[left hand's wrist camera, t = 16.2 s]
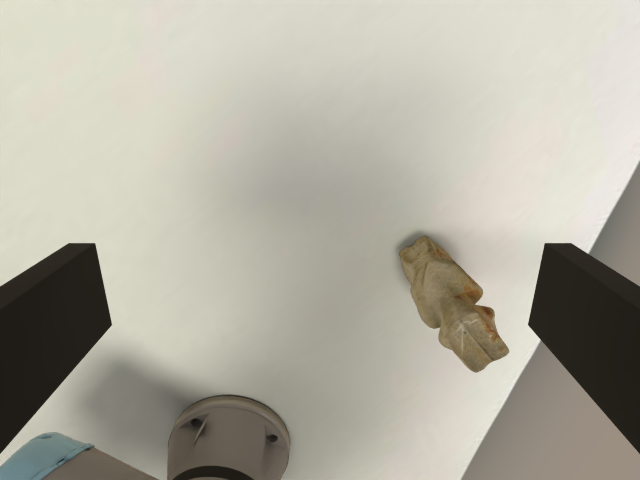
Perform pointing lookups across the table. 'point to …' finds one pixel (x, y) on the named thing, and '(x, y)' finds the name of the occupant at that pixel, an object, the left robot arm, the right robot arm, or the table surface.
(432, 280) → the sculpture
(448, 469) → the table surface
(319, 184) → the table surface
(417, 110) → the table surface
